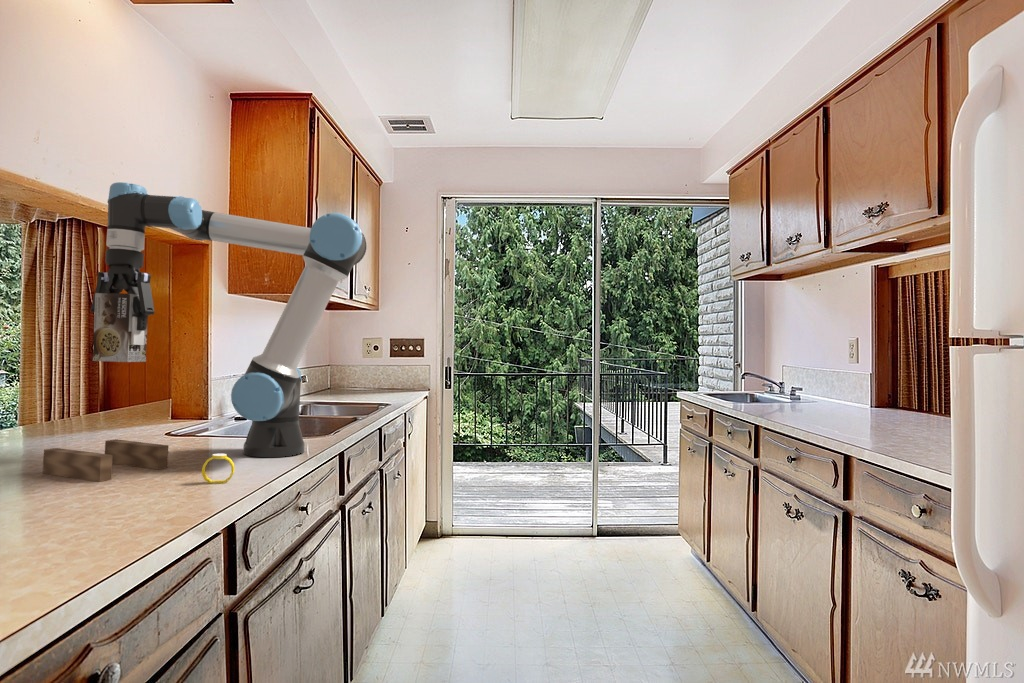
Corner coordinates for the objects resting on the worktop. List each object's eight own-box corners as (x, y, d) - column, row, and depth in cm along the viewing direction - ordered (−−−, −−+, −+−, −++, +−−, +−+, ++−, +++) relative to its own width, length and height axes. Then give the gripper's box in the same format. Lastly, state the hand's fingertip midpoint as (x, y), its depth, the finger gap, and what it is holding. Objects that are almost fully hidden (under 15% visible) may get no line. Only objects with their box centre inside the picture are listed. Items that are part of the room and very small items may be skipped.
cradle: (167, 467, 133) (168, 445, 133) (99, 481, 118) (100, 457, 118) (114, 460, 138) (115, 439, 138) (42, 473, 123) (43, 449, 123)
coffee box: (147, 362, 141) (150, 295, 141) (127, 362, 135) (130, 292, 135) (112, 360, 142) (115, 294, 142) (90, 360, 135) (94, 291, 136)
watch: (233, 482, 124) (237, 454, 124) (231, 485, 121) (234, 456, 121) (202, 480, 122) (206, 452, 122) (199, 483, 119) (203, 454, 120)
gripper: (74, 247, 138) (70, 341, 138) (147, 246, 132) (142, 345, 131) (105, 252, 145) (100, 342, 145) (175, 252, 139) (171, 346, 139)
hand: (120, 343), depth 138 cm, fingers closed on coffee box, 10 cm apart
